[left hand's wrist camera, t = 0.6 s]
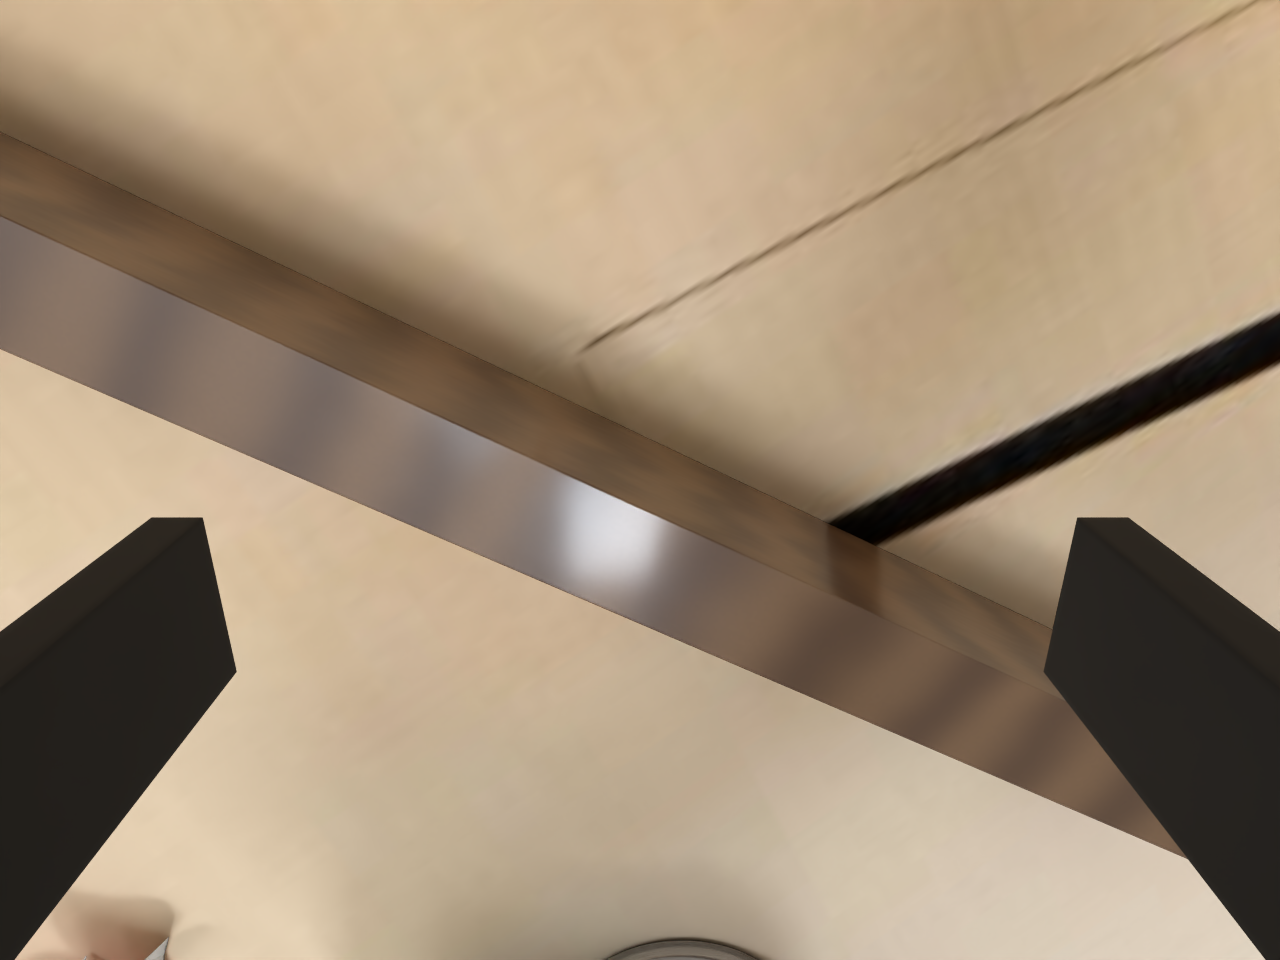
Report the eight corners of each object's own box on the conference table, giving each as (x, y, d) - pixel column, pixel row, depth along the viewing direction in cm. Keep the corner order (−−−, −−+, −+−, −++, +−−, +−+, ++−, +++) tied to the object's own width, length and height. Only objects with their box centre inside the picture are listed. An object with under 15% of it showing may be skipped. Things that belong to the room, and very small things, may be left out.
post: (1240, 718, 45) (1365, 838, 38) (1183, 777, 47) (1292, 904, 39) (-269, 4, 32) (-560, -41, 25) (-277, 120, 34) (-553, 112, 26)
